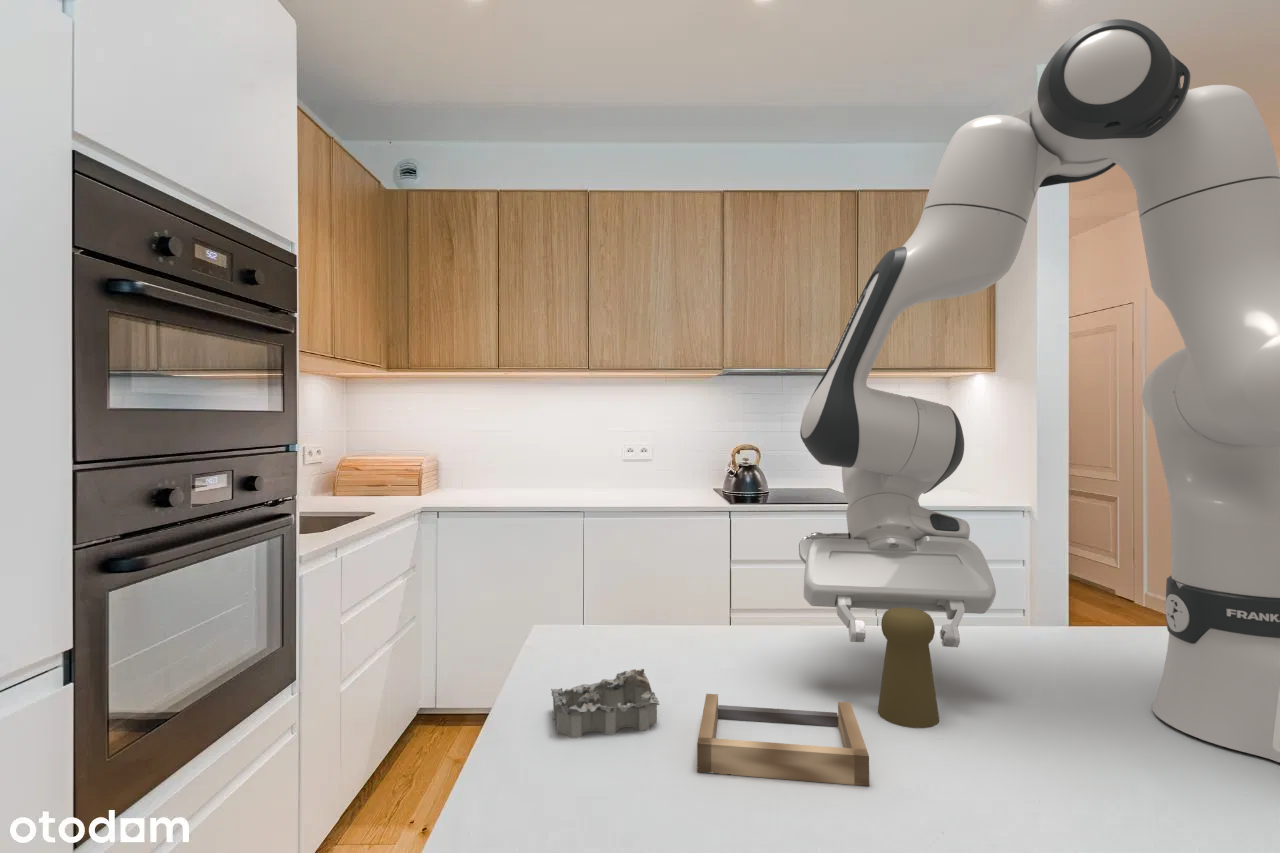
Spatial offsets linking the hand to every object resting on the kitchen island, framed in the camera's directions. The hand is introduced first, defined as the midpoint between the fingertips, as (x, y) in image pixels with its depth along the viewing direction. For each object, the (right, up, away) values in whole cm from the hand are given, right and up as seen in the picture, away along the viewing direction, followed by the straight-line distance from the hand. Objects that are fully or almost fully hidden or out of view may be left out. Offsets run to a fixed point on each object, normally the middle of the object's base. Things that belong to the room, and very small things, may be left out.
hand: (904, 642), depth 72 cm
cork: (0, -7, -1) cm, 8 cm away
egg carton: (-32, -8, -2) cm, 33 cm away
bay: (-15, -7, -8) cm, 18 cm away
